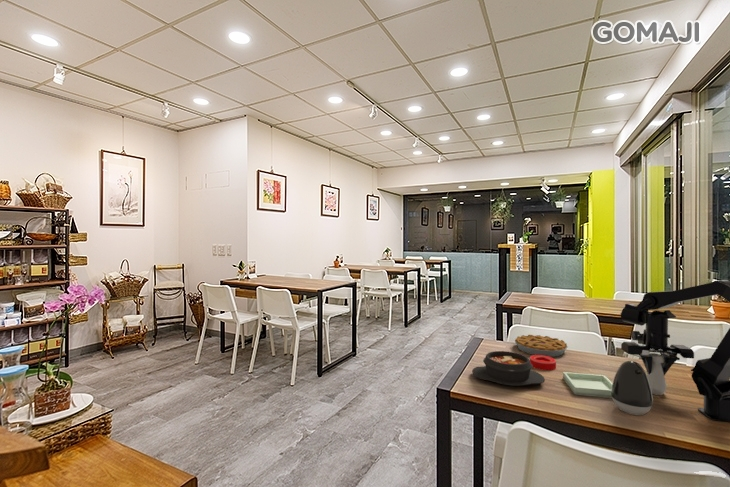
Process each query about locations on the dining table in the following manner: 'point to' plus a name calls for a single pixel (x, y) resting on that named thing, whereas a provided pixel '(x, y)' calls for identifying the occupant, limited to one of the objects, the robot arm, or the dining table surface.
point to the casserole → (508, 369)
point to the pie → (541, 345)
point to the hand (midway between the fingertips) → (655, 374)
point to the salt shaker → (657, 375)
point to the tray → (588, 384)
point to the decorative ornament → (543, 362)
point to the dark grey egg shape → (632, 389)
